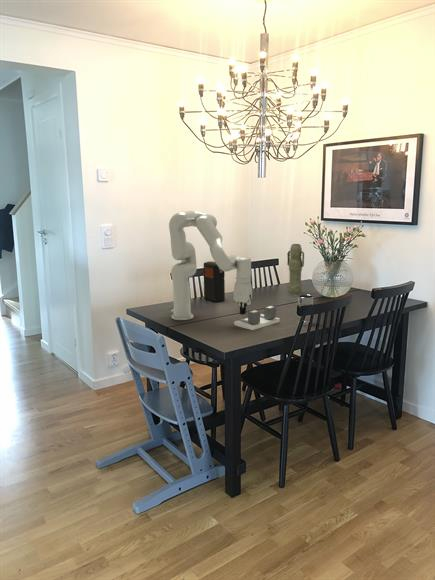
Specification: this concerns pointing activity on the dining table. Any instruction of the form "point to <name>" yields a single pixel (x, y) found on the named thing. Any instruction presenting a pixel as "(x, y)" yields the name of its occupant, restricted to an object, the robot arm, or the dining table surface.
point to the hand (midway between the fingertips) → (242, 314)
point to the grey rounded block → (254, 317)
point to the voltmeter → (214, 282)
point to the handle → (269, 312)
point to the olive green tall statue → (295, 269)
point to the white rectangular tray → (263, 323)
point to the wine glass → (305, 301)
